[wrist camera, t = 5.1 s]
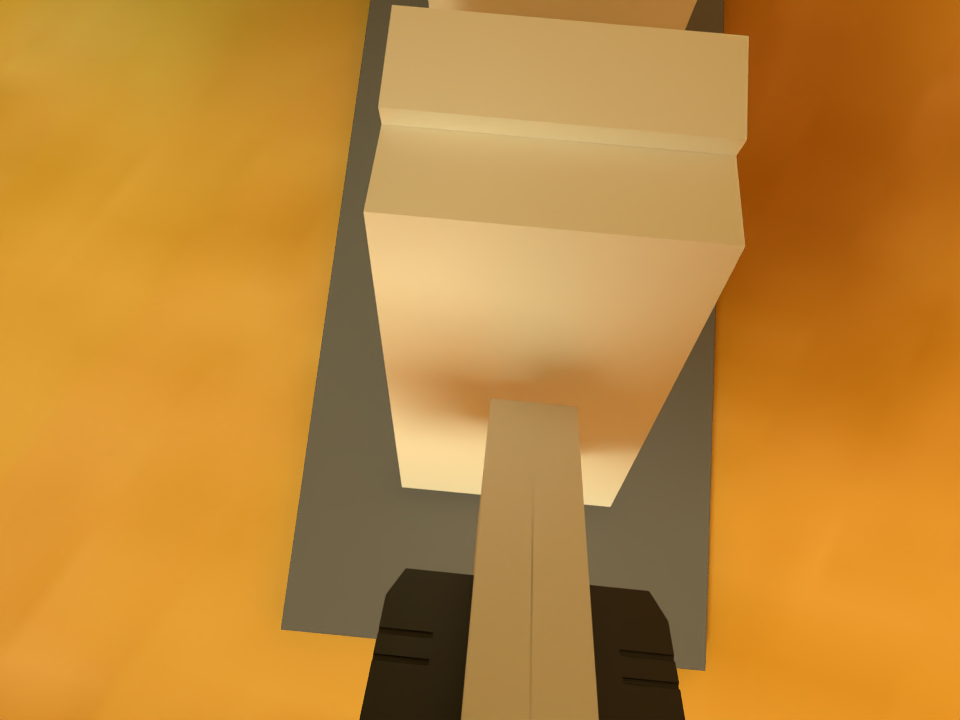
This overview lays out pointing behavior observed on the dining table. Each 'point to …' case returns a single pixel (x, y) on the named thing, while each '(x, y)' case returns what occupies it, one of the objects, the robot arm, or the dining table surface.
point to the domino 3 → (540, 288)
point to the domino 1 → (585, 10)
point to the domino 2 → (565, 80)
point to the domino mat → (454, 516)
